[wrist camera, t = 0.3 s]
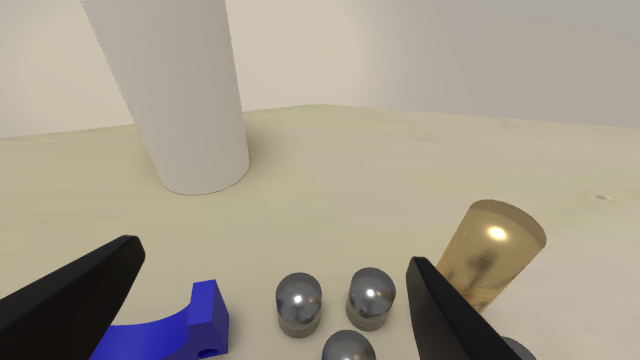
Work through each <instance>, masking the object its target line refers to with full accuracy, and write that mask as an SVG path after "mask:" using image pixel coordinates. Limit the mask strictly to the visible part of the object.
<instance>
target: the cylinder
mask: <svg viewBox="0 0 640 360" xmlns="http://www.w3.org/2000/svg"><path fill="white" fill-rule="evenodd" d="M80 1H81V3H82V5H83V7H84V9H85V12H86V14H87V16H88V19H89V21H90V23H91V25H92V27H93V29H94V32H95V34H96V37H97V39H98V41H99V43H100V46H101V48H102V50H103V53H104V55H105V57H106V59H107V62H108V64H109V66H110V68H111V71H112V73H113V75H114V77H115V80H116V82H117V84H118V86H119V89H120V91H121V93H122V95H123V98H124V100H125V102H126V104H127V107H128V109H129V111H130V113H131V116H132V118H133V120H134V123H135V125H136V127H137V129H138V132H139V134H140V136H141V138H142V141H143V143H144V145H145V147H146V150H147V152H148V154H149V156H150V159H151V161H152V163H153V165H154V168H155V170H156V172H157V175H158V177H159V179H160V181H161V183H162V185H163V186H164V187H165V188H167V189H168V190H170V191H172V192H175V193H178V194H183V195H204V194H210V193H214V192H217V191H220V190H223V189H226V188H228V187H230V186H232V185H233V184H235V183H236V182H238V181H239V180H240V179H241V178H243V176H244V175H245V174H246V173H247V171H248V169H249V165H250V160H249V154H248V147H247V141H246V134H245V128H244V122H243V115H242V109H241V102H240V96H239V89H238V83H237V77H236V70H235V63H234V57H233V51H232V44H231V37H230V31H229V24H228V18H227V12H226V5H225V0H80Z"/></svg>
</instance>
